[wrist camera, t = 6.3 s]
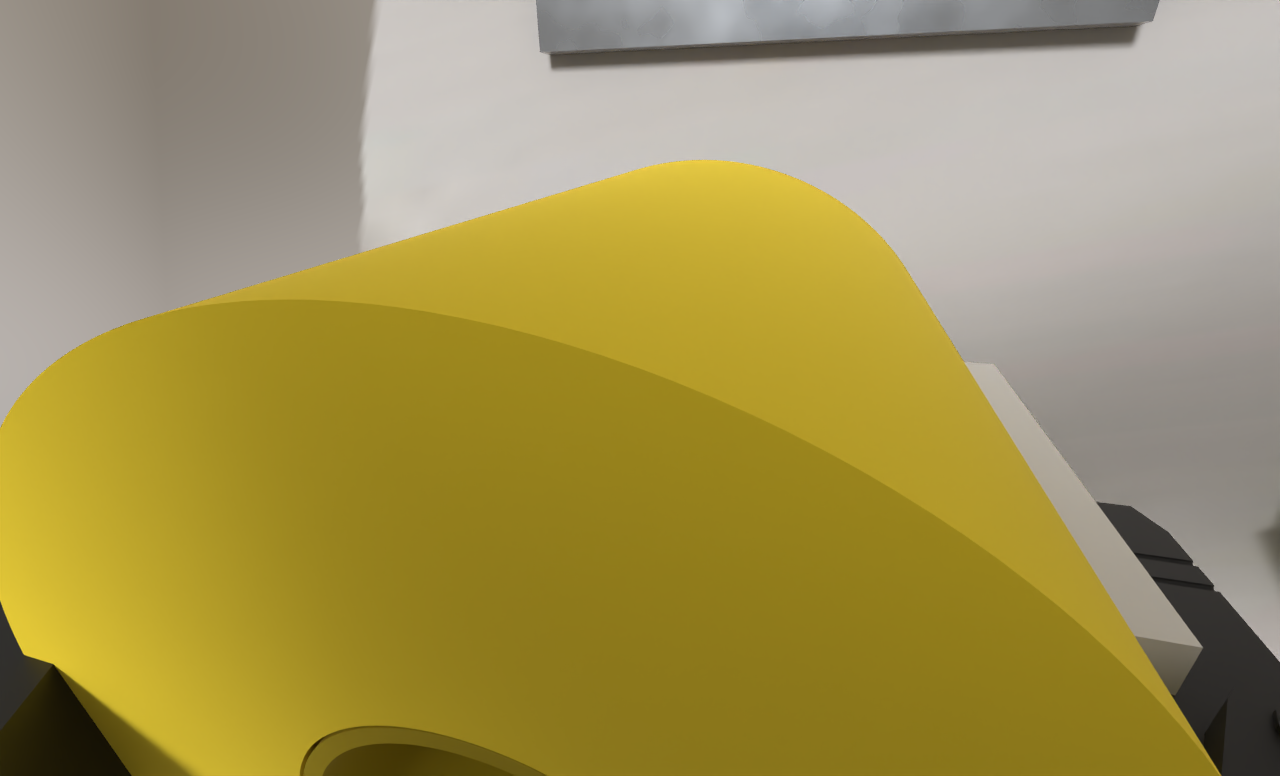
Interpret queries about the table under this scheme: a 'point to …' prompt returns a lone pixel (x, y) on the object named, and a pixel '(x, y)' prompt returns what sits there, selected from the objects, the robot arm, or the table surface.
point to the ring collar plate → (807, 20)
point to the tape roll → (567, 516)
